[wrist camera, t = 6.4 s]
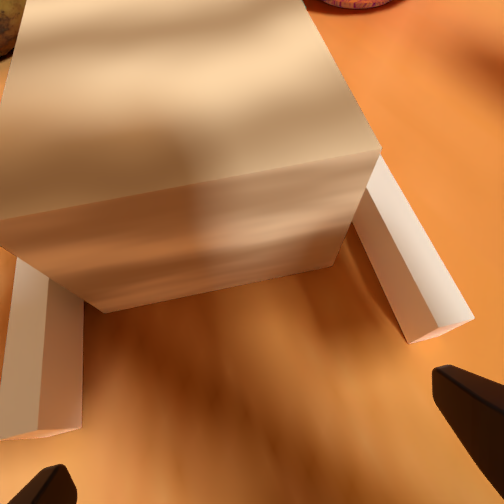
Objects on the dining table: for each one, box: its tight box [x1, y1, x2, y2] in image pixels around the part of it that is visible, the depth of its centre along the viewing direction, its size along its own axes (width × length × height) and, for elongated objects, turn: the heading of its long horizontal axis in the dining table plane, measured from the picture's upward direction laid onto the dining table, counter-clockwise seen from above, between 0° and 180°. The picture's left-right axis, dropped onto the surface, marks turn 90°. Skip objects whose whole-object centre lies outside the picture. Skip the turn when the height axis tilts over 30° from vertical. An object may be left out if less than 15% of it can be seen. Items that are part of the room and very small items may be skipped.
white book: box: [0, 0, 475, 441], centre depth 18 cm, size 23×18×4 cm
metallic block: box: [0, 0, 382, 314], centre depth 17 cm, size 16×12×8 cm
